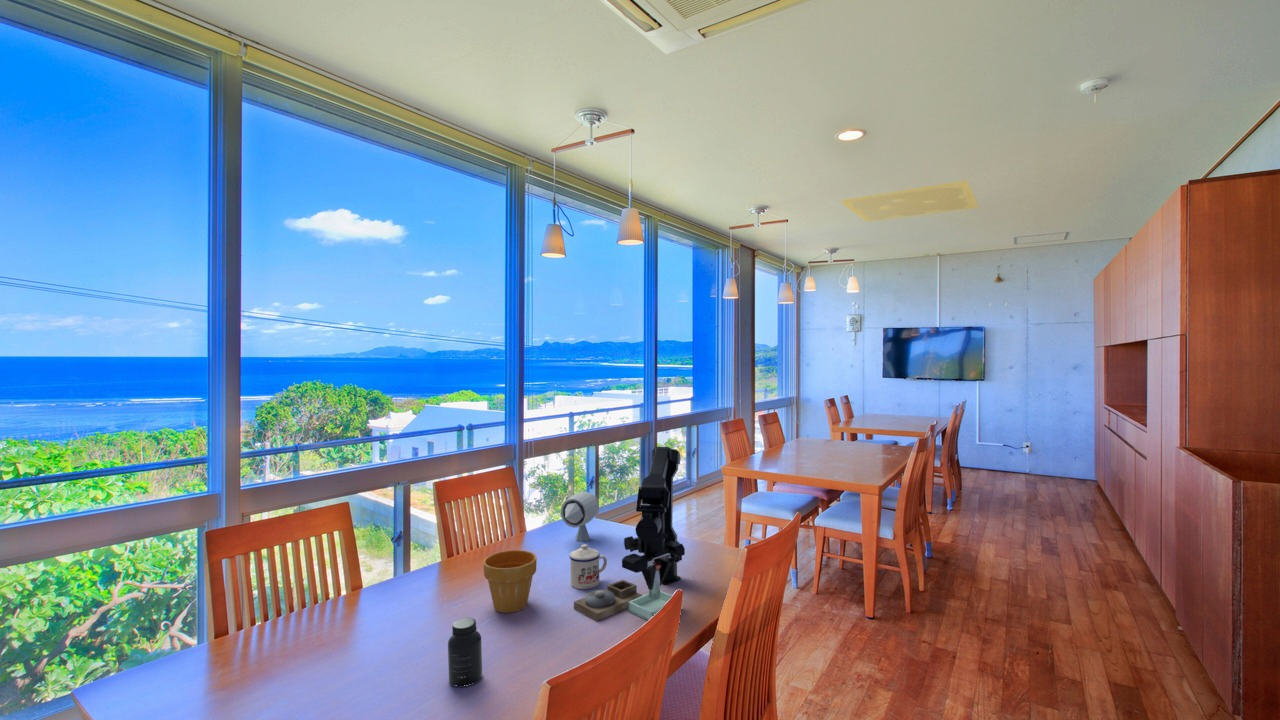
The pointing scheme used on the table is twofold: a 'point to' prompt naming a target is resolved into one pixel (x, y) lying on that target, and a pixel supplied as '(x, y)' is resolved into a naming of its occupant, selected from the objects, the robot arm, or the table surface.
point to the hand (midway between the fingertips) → (654, 587)
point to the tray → (647, 605)
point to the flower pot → (510, 578)
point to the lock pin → (656, 583)
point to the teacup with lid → (585, 567)
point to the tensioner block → (607, 600)
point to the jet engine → (580, 513)
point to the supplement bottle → (464, 653)
